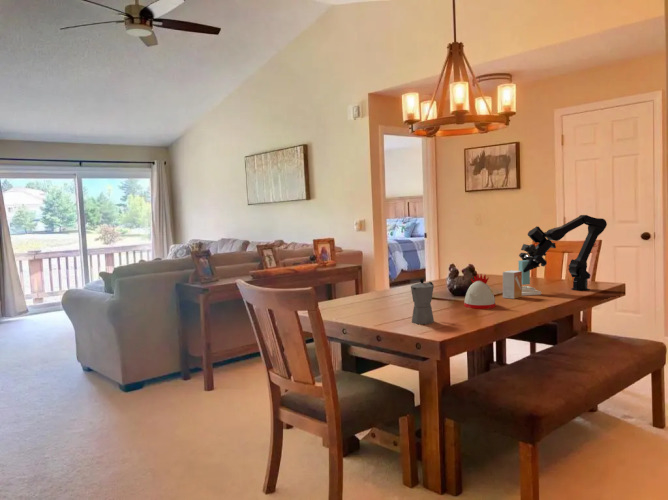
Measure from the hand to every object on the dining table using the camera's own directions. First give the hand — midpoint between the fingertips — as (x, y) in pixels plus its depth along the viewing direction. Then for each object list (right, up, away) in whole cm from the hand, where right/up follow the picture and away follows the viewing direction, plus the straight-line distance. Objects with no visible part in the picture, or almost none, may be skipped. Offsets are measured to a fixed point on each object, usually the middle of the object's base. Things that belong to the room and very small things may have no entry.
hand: (521, 271), depth 268 cm
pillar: (+2, -7, +1) cm, 7 cm away
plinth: (+2, -11, +1) cm, 12 cm away
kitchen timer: (-29, -15, -26) cm, 42 cm away
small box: (-8, -13, -8) cm, 17 cm away
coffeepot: (-60, -19, -54) cm, 82 cm away
